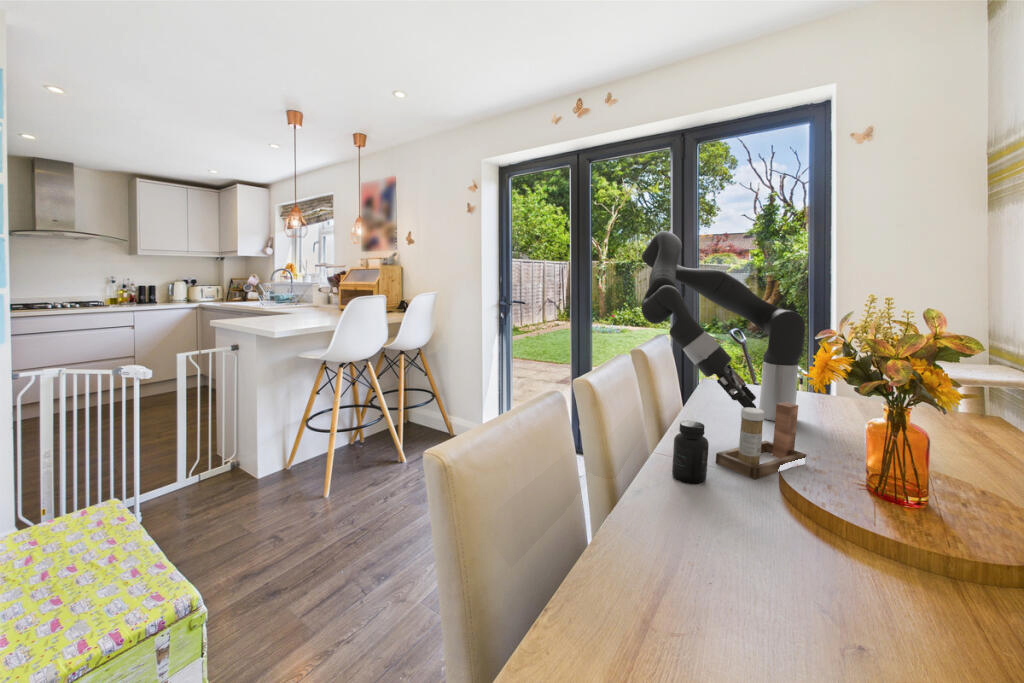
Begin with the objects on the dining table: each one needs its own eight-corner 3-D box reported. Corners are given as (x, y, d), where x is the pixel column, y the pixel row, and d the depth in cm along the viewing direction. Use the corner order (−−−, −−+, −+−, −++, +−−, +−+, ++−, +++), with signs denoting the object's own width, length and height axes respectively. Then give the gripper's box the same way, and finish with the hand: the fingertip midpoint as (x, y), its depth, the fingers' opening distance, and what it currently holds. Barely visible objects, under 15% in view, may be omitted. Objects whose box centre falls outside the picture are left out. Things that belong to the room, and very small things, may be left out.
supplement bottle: (695, 470, 99) (698, 418, 98) (712, 484, 93) (716, 428, 91) (666, 472, 98) (669, 419, 97) (681, 486, 92) (684, 430, 90)
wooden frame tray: (767, 449, 112) (771, 398, 110) (807, 463, 103) (813, 408, 102) (715, 462, 103) (719, 408, 102) (755, 479, 95) (760, 420, 93)
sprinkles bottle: (745, 461, 104) (750, 405, 102) (764, 469, 100) (769, 411, 98) (732, 465, 102) (736, 408, 100) (750, 472, 98) (755, 413, 96)
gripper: (697, 358, 120) (740, 406, 116) (690, 368, 107) (738, 422, 104) (720, 340, 116) (766, 389, 113) (716, 349, 104) (767, 404, 101)
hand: (752, 405), depth 108 cm, fingers open, 8 cm apart
